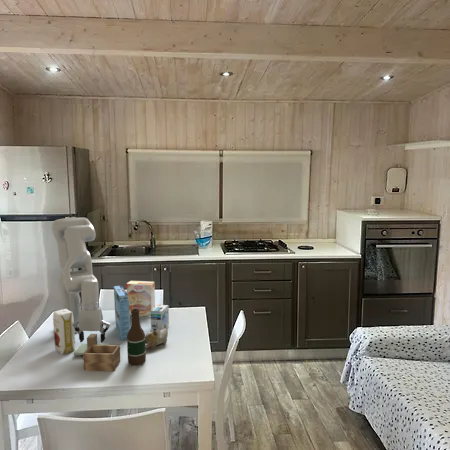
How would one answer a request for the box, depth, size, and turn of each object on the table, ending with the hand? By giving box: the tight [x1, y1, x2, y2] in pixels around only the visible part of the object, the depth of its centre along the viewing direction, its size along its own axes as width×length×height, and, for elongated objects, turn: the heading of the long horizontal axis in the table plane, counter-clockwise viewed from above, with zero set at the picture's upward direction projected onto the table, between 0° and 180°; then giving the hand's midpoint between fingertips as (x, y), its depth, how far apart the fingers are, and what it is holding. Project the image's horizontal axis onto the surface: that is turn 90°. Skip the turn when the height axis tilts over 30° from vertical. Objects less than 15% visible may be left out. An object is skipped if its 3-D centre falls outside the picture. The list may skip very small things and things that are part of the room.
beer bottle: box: [126, 309, 147, 367], centre depth 178 cm, size 8×8×24 cm
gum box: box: [113, 285, 131, 341], centre depth 211 cm, size 20×5×23 cm, turn 23°
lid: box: [72, 333, 111, 356], centre depth 189 cm, size 14×10×8 cm
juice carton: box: [52, 309, 76, 355], centre depth 191 cm, size 8×9×19 cm
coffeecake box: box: [125, 280, 156, 317], centre depth 239 cm, size 15×7×20 cm, turn 81°
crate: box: [82, 344, 121, 372], centre depth 176 cm, size 13×9×8 cm
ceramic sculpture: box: [145, 327, 169, 350], centre depth 197 cm, size 11×9×15 cm
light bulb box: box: [150, 304, 170, 331], centre depth 220 cm, size 11×7×11 cm, turn 168°
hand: (92, 341), depth 189 cm, fingers open, 9 cm apart
